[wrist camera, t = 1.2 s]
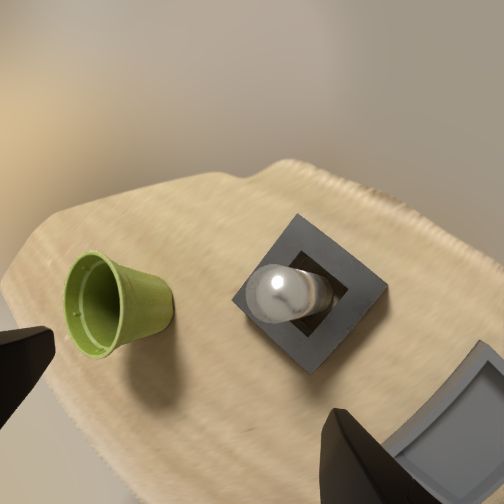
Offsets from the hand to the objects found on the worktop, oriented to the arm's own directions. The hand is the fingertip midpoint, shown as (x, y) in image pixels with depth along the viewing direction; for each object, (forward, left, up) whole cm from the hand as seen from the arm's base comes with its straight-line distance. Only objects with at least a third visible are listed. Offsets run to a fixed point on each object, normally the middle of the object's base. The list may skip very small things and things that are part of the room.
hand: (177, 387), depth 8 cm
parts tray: (-17, -2, -18) cm, 25 cm away
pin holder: (+2, -2, -18) cm, 18 cm away
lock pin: (+2, -2, -18) cm, 18 cm away
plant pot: (+14, +10, -18) cm, 25 cm away
